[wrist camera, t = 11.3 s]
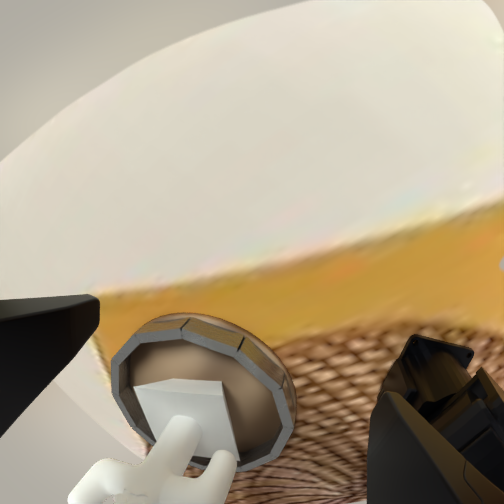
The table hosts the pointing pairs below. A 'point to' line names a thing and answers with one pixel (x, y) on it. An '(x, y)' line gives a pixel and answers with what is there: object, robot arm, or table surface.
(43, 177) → the table surface
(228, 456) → the figurine
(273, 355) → the brown round plate
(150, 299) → the table surface
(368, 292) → the table surface
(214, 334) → the round grey tray
